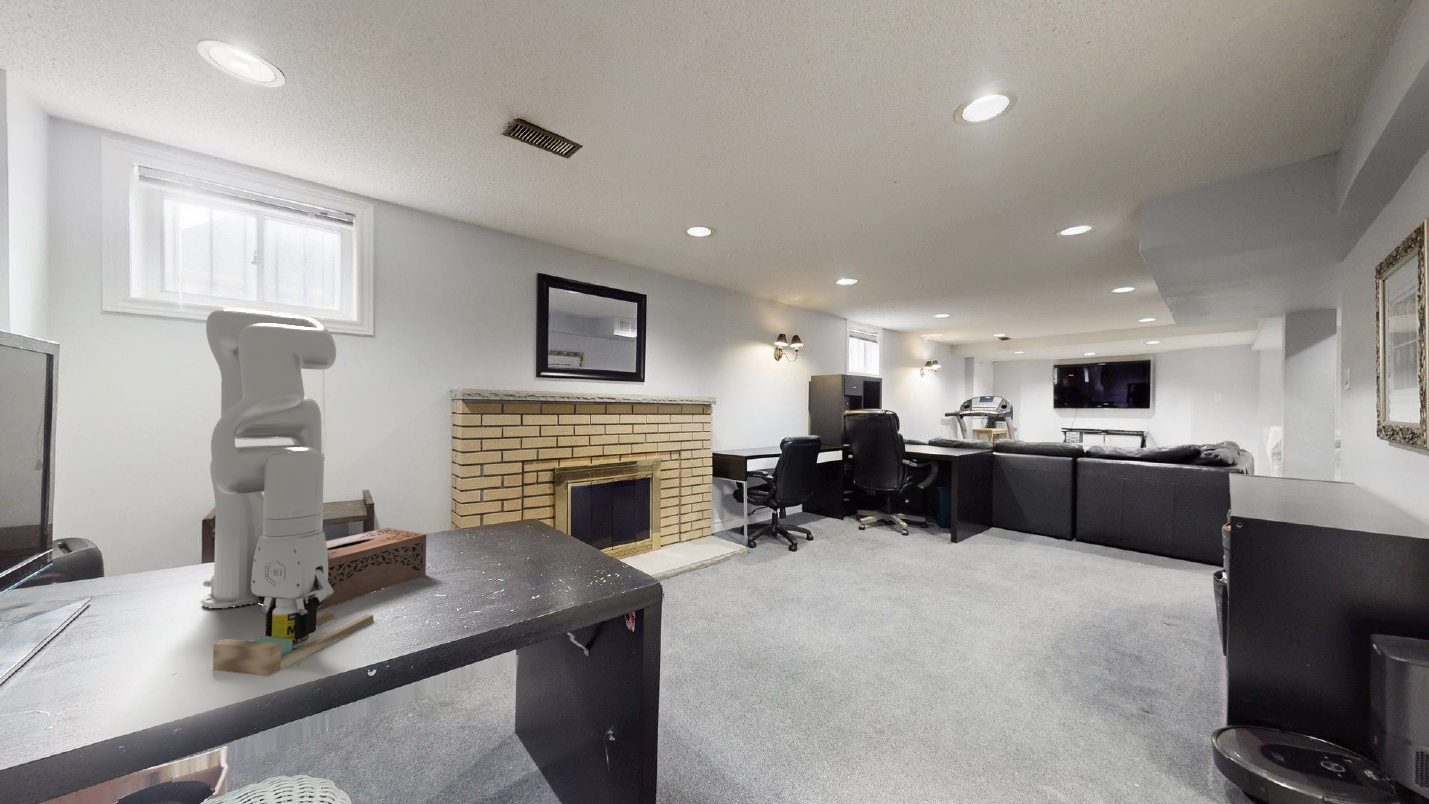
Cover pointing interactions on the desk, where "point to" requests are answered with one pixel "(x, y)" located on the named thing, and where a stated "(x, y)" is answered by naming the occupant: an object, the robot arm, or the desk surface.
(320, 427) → the robot arm
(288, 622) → the supplement bottle
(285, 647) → the block
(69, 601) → the desk surface
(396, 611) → the desk surface
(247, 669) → the track
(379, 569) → the tissue box cover
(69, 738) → the desk surface
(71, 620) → the desk surface
